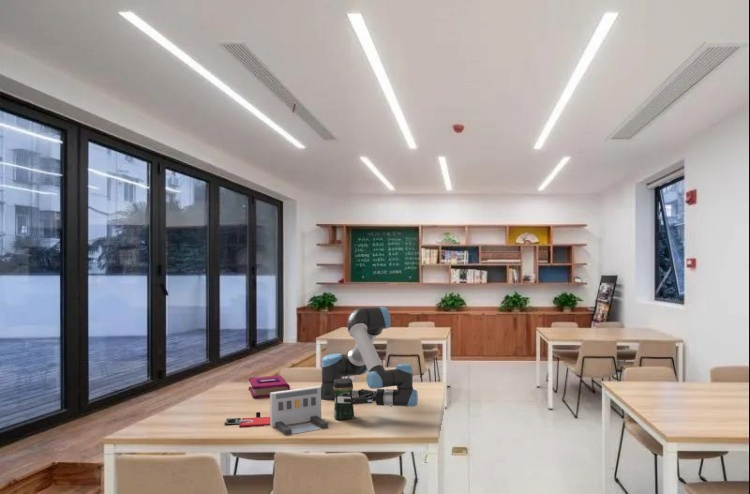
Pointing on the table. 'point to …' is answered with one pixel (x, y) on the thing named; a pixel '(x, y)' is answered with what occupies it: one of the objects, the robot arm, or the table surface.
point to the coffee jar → (343, 390)
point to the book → (267, 386)
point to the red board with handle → (250, 421)
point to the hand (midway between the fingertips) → (341, 396)
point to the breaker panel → (295, 405)
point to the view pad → (303, 428)
